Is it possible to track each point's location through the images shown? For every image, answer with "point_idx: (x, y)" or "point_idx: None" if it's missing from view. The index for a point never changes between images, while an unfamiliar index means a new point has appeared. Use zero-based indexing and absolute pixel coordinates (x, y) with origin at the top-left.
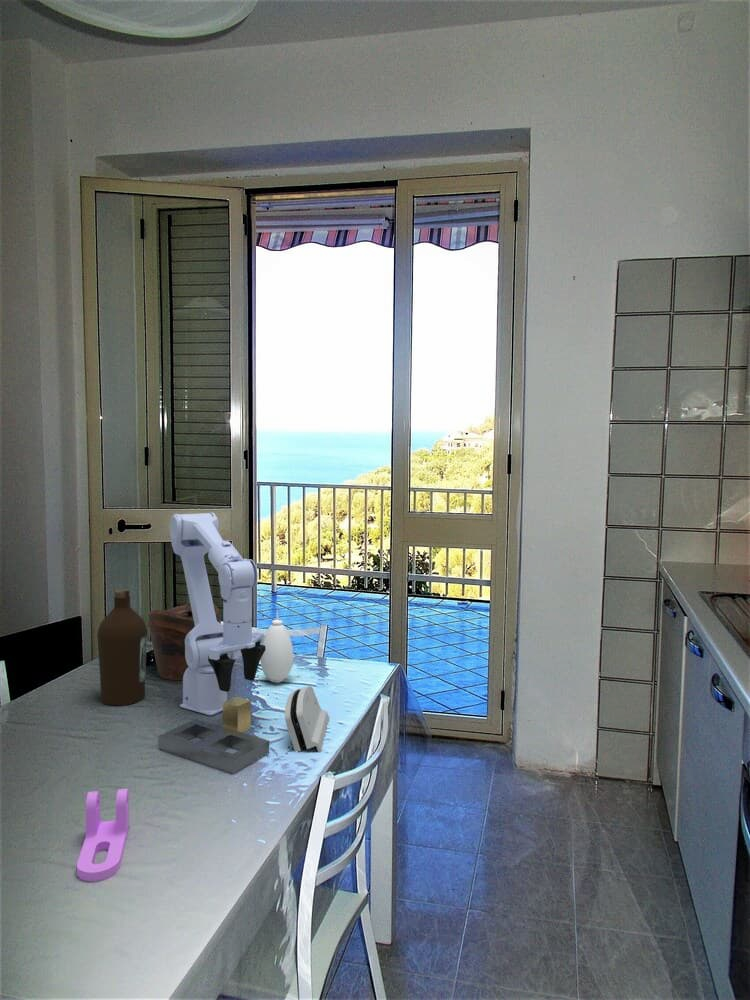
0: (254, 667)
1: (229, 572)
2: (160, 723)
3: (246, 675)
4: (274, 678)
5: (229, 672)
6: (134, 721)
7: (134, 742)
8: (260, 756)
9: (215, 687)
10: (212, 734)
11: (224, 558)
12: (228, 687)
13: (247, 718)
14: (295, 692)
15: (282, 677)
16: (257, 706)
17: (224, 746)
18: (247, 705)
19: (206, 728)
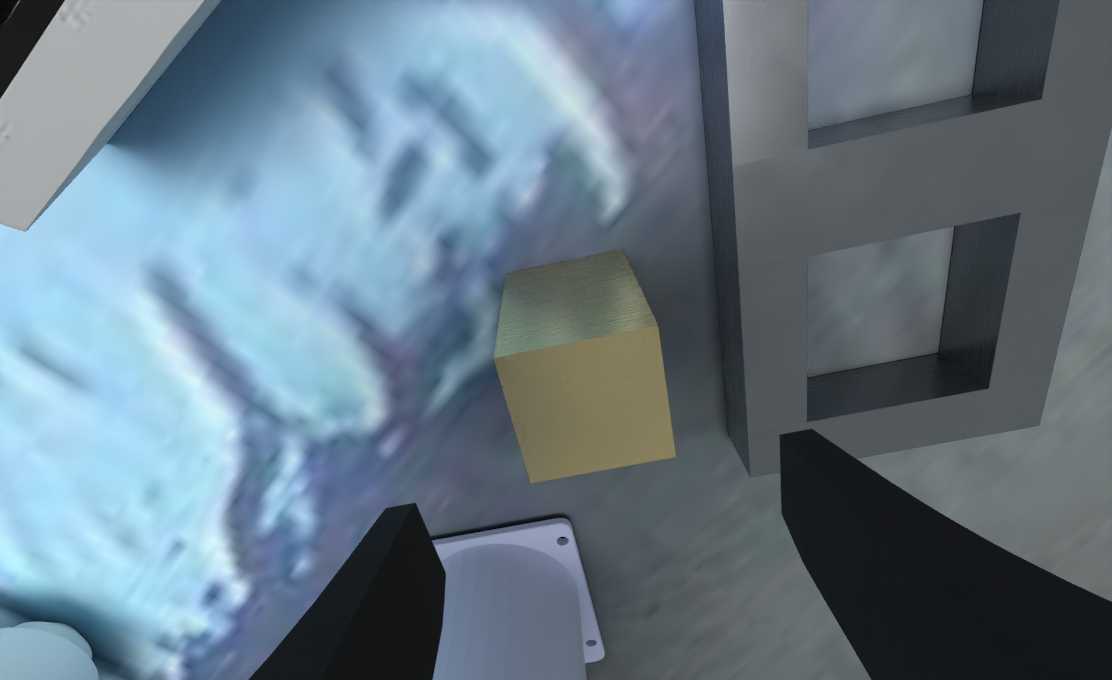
0: (354, 629)
1: None
2: (766, 578)
3: (434, 595)
4: (62, 645)
5: (1012, 594)
6: (813, 641)
7: (975, 500)
8: None
9: (518, 660)
10: (869, 240)
11: None
12: (835, 449)
13: (535, 294)
14: (51, 22)
15: (10, 634)
16: (304, 475)
17: (833, 130)
18: (535, 336)
19: (804, 347)
